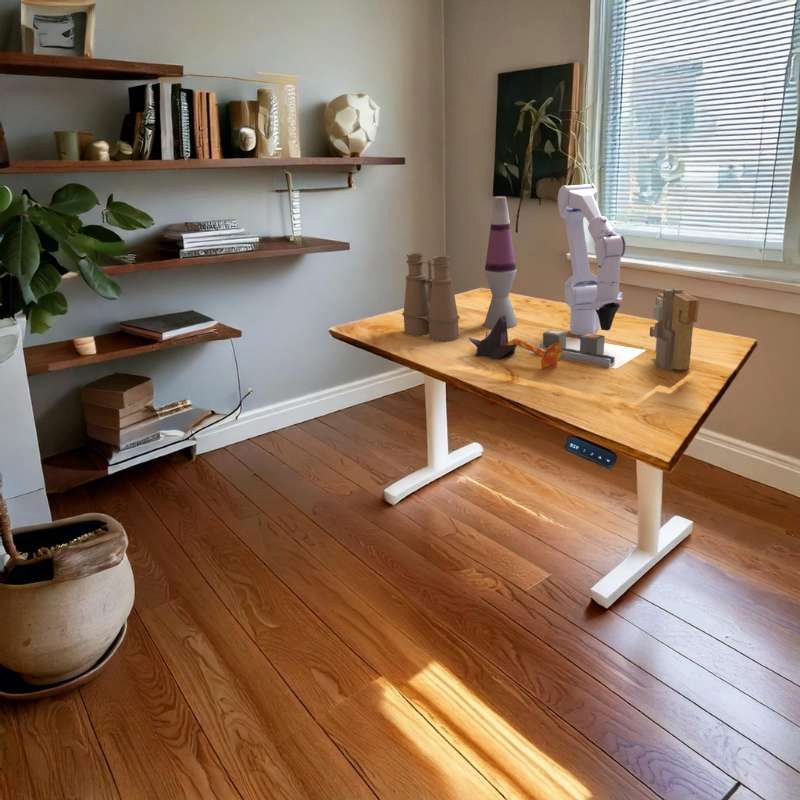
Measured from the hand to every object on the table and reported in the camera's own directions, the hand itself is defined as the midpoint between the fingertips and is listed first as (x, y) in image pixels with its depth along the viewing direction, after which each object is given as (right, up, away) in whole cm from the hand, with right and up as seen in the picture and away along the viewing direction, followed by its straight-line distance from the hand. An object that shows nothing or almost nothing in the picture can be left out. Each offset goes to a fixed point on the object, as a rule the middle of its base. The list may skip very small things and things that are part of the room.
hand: (605, 329), depth 191 cm
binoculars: (-47, +1, +26) cm, 54 cm away
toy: (+12, -12, -15) cm, 22 cm away
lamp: (-24, +5, +33) cm, 41 cm away
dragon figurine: (-26, -10, -3) cm, 28 cm away
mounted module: (-14, -6, +1) cm, 15 cm away
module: (-5, -7, -4) cm, 9 cm away
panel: (-5, -7, -1) cm, 9 cm away
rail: (-11, -8, -6) cm, 15 cm away
